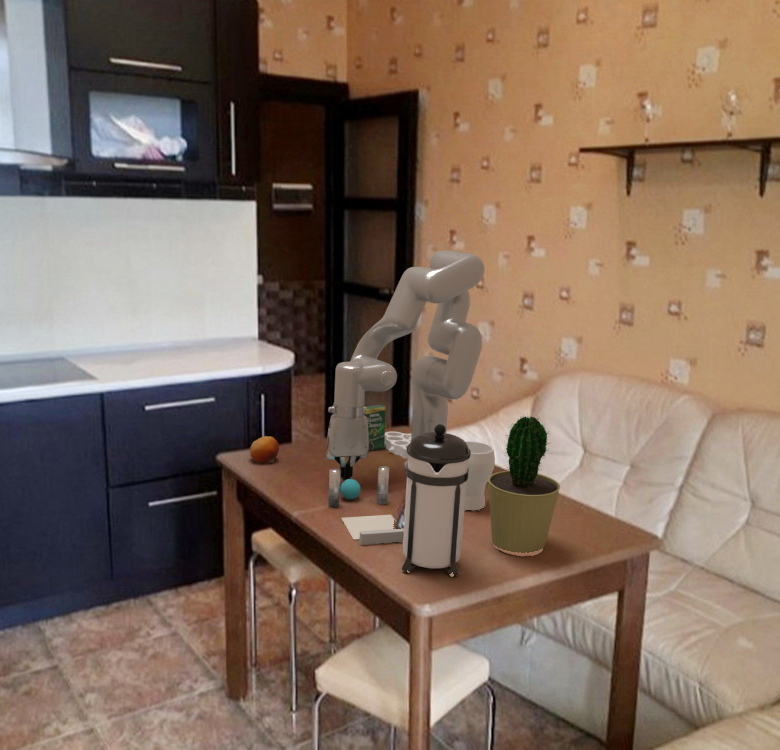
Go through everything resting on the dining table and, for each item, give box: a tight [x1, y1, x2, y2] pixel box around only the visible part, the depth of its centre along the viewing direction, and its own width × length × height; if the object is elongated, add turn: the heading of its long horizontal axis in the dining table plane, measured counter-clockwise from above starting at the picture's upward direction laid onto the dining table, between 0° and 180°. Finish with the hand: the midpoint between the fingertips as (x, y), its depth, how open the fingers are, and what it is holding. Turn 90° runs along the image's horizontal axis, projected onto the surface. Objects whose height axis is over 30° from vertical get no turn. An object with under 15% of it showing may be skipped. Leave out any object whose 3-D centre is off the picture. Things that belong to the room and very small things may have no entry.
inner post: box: [376, 465, 390, 506], centre depth 199 cm, size 3×3×9 cm
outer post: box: [327, 467, 341, 509], centre depth 196 cm, size 3×3×9 cm
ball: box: [340, 478, 361, 500], centre depth 201 cm, size 5×5×5 cm
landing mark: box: [340, 514, 396, 541], centre depth 185 cm, size 12×12×1 cm
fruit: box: [249, 435, 280, 464], centre depth 225 cm, size 8×8×8 cm
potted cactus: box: [487, 413, 561, 553], centre depth 176 cm, size 15×15×30 cm
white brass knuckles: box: [384, 431, 412, 460], centre depth 243 cm, size 3×18×15 cm
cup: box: [464, 441, 496, 511], centre depth 200 cm, size 11×11×15 cm
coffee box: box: [364, 404, 387, 452], centre depth 239 cm, size 8×3×13 cm, turn 119°
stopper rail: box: [358, 527, 404, 546], centre depth 178 cm, size 12×2×2 cm, turn 106°
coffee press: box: [401, 424, 471, 577], centre depth 167 cm, size 17×16×30 cm
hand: (345, 479), depth 210 cm, fingers closed
